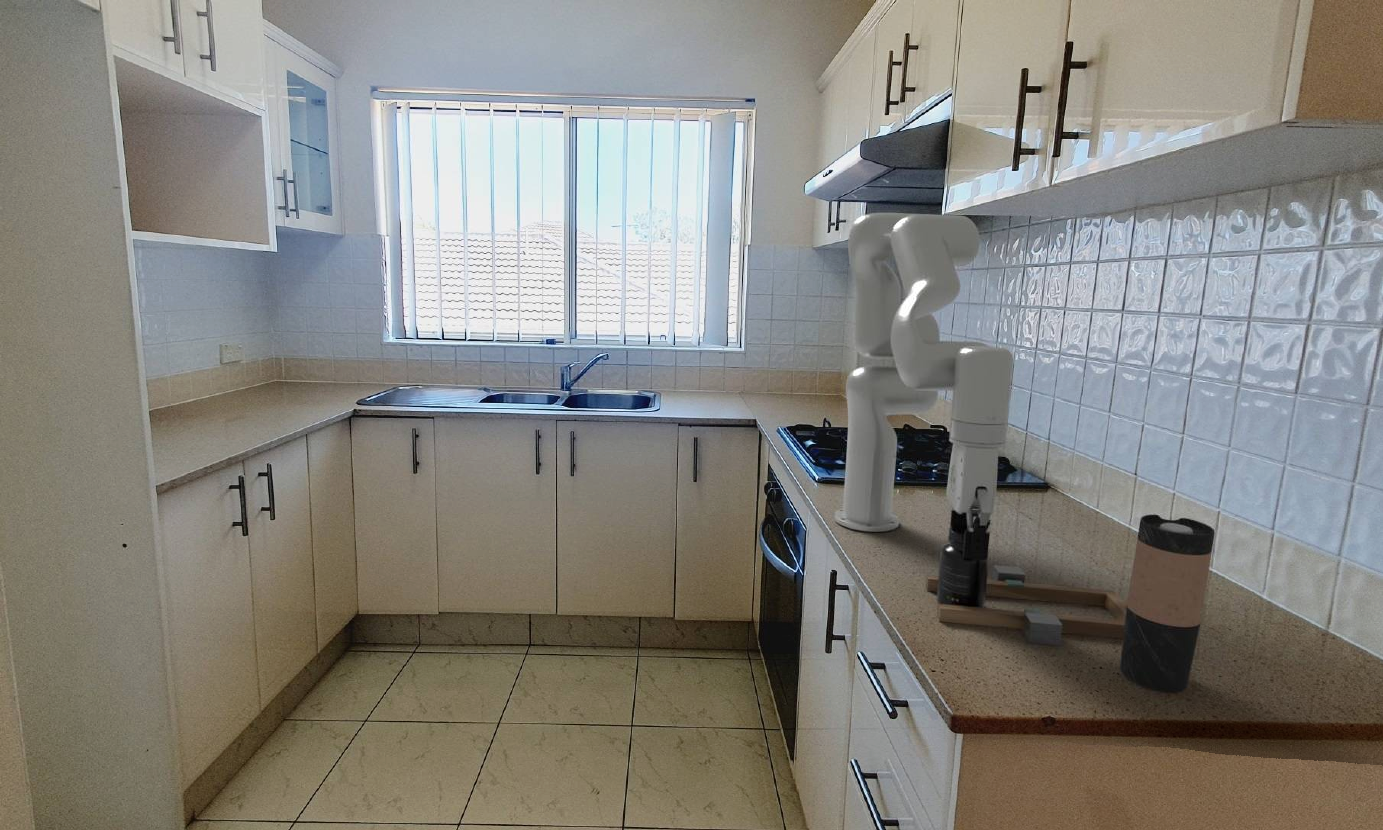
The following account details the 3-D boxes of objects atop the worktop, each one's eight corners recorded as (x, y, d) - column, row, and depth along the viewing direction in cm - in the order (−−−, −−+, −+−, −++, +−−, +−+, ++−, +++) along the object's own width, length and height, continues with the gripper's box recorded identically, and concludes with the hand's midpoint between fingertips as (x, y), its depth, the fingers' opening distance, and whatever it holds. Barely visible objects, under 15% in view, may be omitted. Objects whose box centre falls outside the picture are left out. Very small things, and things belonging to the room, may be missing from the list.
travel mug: (1162, 699, 85) (1189, 538, 81) (1103, 667, 92) (1125, 517, 88) (1204, 686, 88) (1231, 530, 84) (1143, 656, 95) (1166, 511, 91)
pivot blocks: (991, 582, 117) (993, 565, 116) (1017, 584, 116) (1019, 567, 116) (1028, 642, 98) (1030, 622, 97) (1059, 645, 97) (1062, 624, 96)
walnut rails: (925, 586, 115) (926, 572, 114) (1110, 602, 111) (1112, 588, 110) (939, 621, 103) (940, 606, 103) (1146, 640, 99) (1149, 625, 99)
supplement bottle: (945, 591, 113) (952, 519, 111) (990, 604, 109) (998, 529, 107) (928, 606, 108) (935, 530, 106) (974, 620, 104) (983, 541, 101)
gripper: (939, 421, 112) (931, 526, 115) (962, 443, 95) (952, 566, 98) (990, 423, 111) (980, 529, 114) (1022, 446, 94) (1010, 570, 97)
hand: (967, 546), depth 106 cm, fingers open, 9 cm apart
